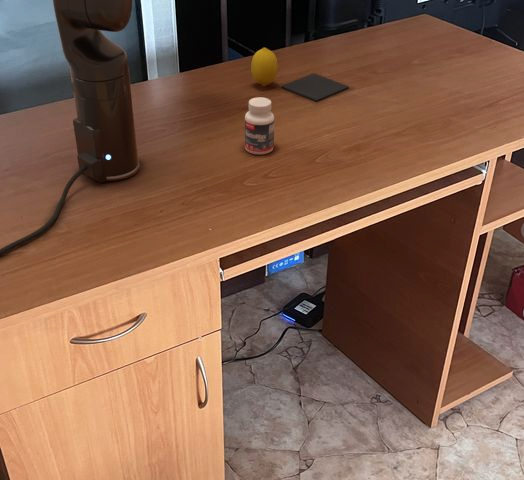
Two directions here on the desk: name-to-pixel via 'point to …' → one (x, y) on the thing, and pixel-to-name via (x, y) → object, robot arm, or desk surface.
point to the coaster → (314, 87)
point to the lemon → (264, 66)
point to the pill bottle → (259, 126)
